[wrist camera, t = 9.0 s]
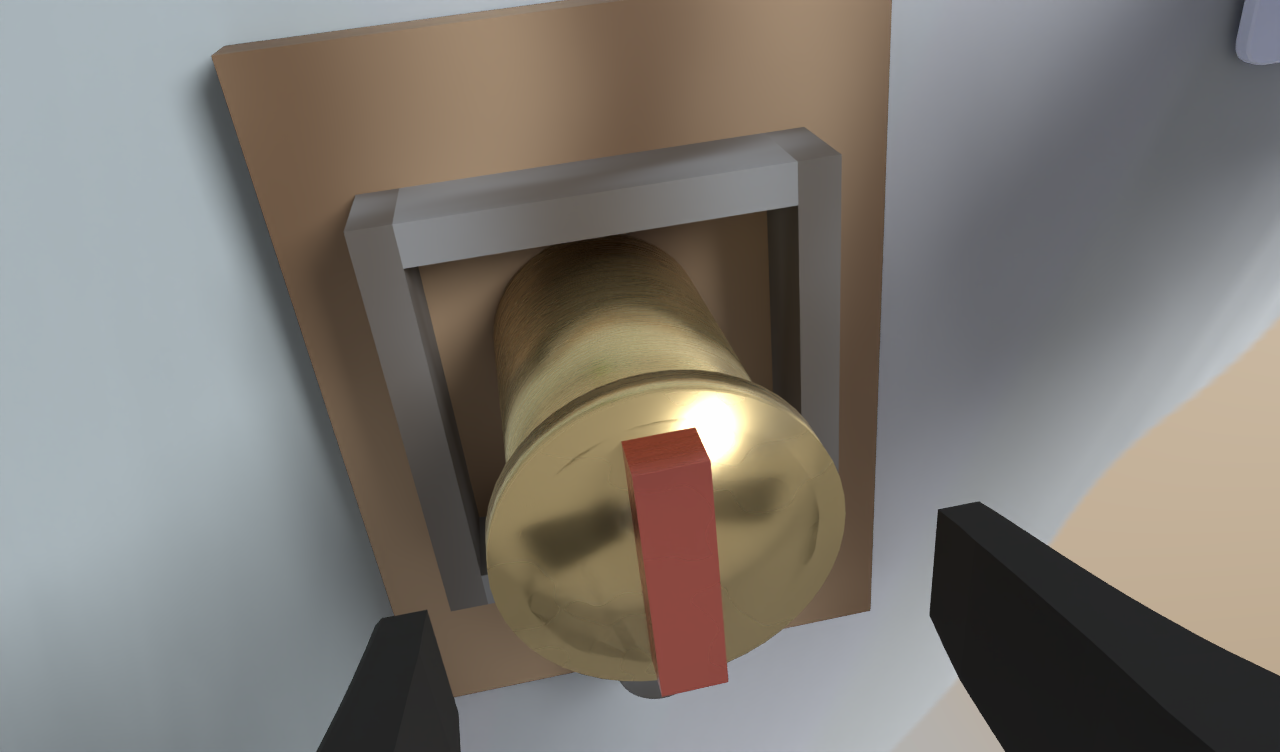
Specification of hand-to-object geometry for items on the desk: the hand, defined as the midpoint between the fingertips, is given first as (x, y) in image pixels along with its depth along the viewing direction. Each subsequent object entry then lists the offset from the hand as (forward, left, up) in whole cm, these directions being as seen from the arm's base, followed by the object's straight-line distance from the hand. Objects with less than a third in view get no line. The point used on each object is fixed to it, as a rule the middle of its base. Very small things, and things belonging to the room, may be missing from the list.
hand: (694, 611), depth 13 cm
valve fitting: (0, -1, -8) cm, 8 cm away
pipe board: (0, +1, -9) cm, 9 cm away
